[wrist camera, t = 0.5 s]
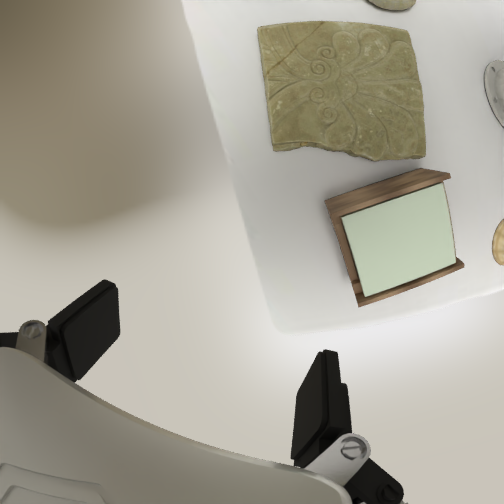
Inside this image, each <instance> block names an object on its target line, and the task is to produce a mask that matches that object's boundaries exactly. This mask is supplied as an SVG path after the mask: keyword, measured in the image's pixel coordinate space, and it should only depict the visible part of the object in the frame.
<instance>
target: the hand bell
mask: <svg viewBox="0 0 504 504" xmlns="http://www.w3.org/2000/svg"><path fill="white" fill-rule="evenodd" d="M492 251H493V256H494V259H495V261H496V262H497V263H498V264H500V265H504V219H503V220H502V221H501V223H500V224H499V225H498V227H497V229H496V231H495V234H494V237H493V242H492Z"/></svg>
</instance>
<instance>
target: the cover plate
mask: <svg viewBox="0 0 504 504" xmlns="http://www.w3.org/2000/svg"><path fill="white" fill-rule="evenodd" d="M341 219H342V222H343V225H344V229H345V232H346V235H347V238H348V241H349V244H350V248H351V251H352V254H353V258H354V261H355V265H356V268H357V272H358V275H359V279H360V283H361V286H362V290H363V293H364V296H365V297H367V296H370V295H372V294H375V293H378V292H381V291H384V290H387V289H390V288H393V287H395V286H398V285H401V284H404V283H406V282H409V281H412V280H414V279H417V278H419V277H422V276H425V275H427V274H430V273H432V272H435V271H437V270H440V269H442V268H444V267H447V266H449V265H452V264H454V263H456V258H455V248H454V240H453V233H452V226H451V220H450V215H449V209H448V204H447V199H446V195H445V190H444V186H443V183H442V182H437V183H435V184H432V185H429V186H426V187H423V188H420V189H417V190H414V191H411V192H408V193H405V194H402V195H399V196H397V197H394V198H391V199H388V200H385V201H382V202H379V203H376V204H373V205H370V206H368V207H365V208H362V209H359V210H356V211H353V212H350V213H347V214H344V215H342V216H341Z"/></svg>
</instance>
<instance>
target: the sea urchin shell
mask: <svg viewBox="0 0 504 504" xmlns="http://www.w3.org/2000/svg"><path fill="white" fill-rule="evenodd" d="M368 1H370V2H372V3H373V4H375V5H377V6H379V7H381V8H383V9H390V10H405V9H407V8H410V7H412V6H413V5H414V4H415V2H416V0H368Z"/></svg>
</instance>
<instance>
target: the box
mask: <svg viewBox="0 0 504 504" xmlns="http://www.w3.org/2000/svg"><path fill="white" fill-rule="evenodd" d="M449 178H451V176H450V173H446V172H440V171H435V170H429V169H423V168H419V169H416V170H413V171H410V172H407V173H404V174H401V175H398V176H395V177H392V178H389V179H386V180H383V181H380V182H377V183H374V184H371V185H368V186H365V187H362V188H359V189H356V190H353V191H350V192H347V193H345V194H342V195H339V196H336V197H333V198H330V199H327V200H325V204H326V207H327V209H328V212H329V215H330V218H331V221H332V224H333V226H334V229H335V232H336V235H337V238H338V241H339V244H340V248H341V251H342V254H343V257H344V260H345V264H346V267H347V270H348V274H349V277H350V280H351V283H352V287H353V290H354V293H355V296H356V300H357V303H358V307H361V306H364V305H367V304H371V303H373V302H376V301H379V300H382V299H385V298H388V297H391V296H394V295H396V294H399V293H402V292H405V291H407V290H410V289H413V288H415V287H418V286H420V285H423V284H425V283H428V282H431V281H433V280H435V279H438V278H440V277H443V276H445V275H447V274H450V273H452V272H454V271H457V270H459V269H461V268H464V263H463V262H462V261H461V260H459V259H458V258H457V257H456V252H455V258H456V263H454V264H452V265H449V266H447V267H444V268H442V269H440V270H437V271H435V272H432V273H430V274H427V275H425V276H422V277H419V278H417V279H414V280H412V281H409V282H406V283H404V284H401V285H398V286H395V287H393V288H390V289H387V290H384V291H381V292H378V293H375V294H372V295H370V296H367V297H365V296H364V293H363V290H362V286H361V283H360V279H359V275H358V272H357V268H356V265H355V261H354V258H353V254H352V251H351V248H350V244H349V241H348V238H347V235H346V232H345V229H344V225H343V222H342V219H341V216H342V215H344V214H347V213H350V212H353V211H356V210H359V209H362V208H365V207H368V206H370V205H373V204H376V203H379V202H382V201H385V200H388V199H391V198H394V197H397V196H399V195H402V194H405V193H408V192H411V191H414V190H417V189H420V188H423V187H426V186H429V185H432V184H435V183H437V182H442V183H443V180H446V179H449ZM443 186H444V183H443ZM444 190H445V187H444ZM445 195H446V192H445ZM446 199H447V196H446ZM447 204H448V201H447ZM448 209H449V206H448ZM449 215H450V211H449ZM450 220H451V217H450ZM451 226H452V223H451ZM452 233H453V229H452ZM453 240H454V236H453ZM454 248H455V244H454Z"/></svg>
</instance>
